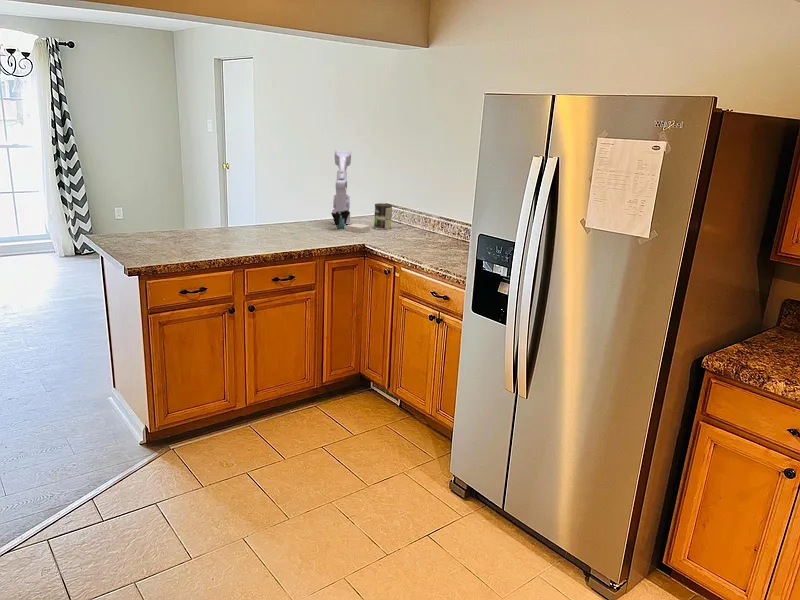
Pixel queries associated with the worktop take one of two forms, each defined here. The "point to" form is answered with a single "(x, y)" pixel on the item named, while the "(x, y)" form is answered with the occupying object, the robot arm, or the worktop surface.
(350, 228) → the plinth
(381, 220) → the coffee can
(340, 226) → the teal cylinder
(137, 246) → the worktop surface
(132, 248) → the worktop surface
